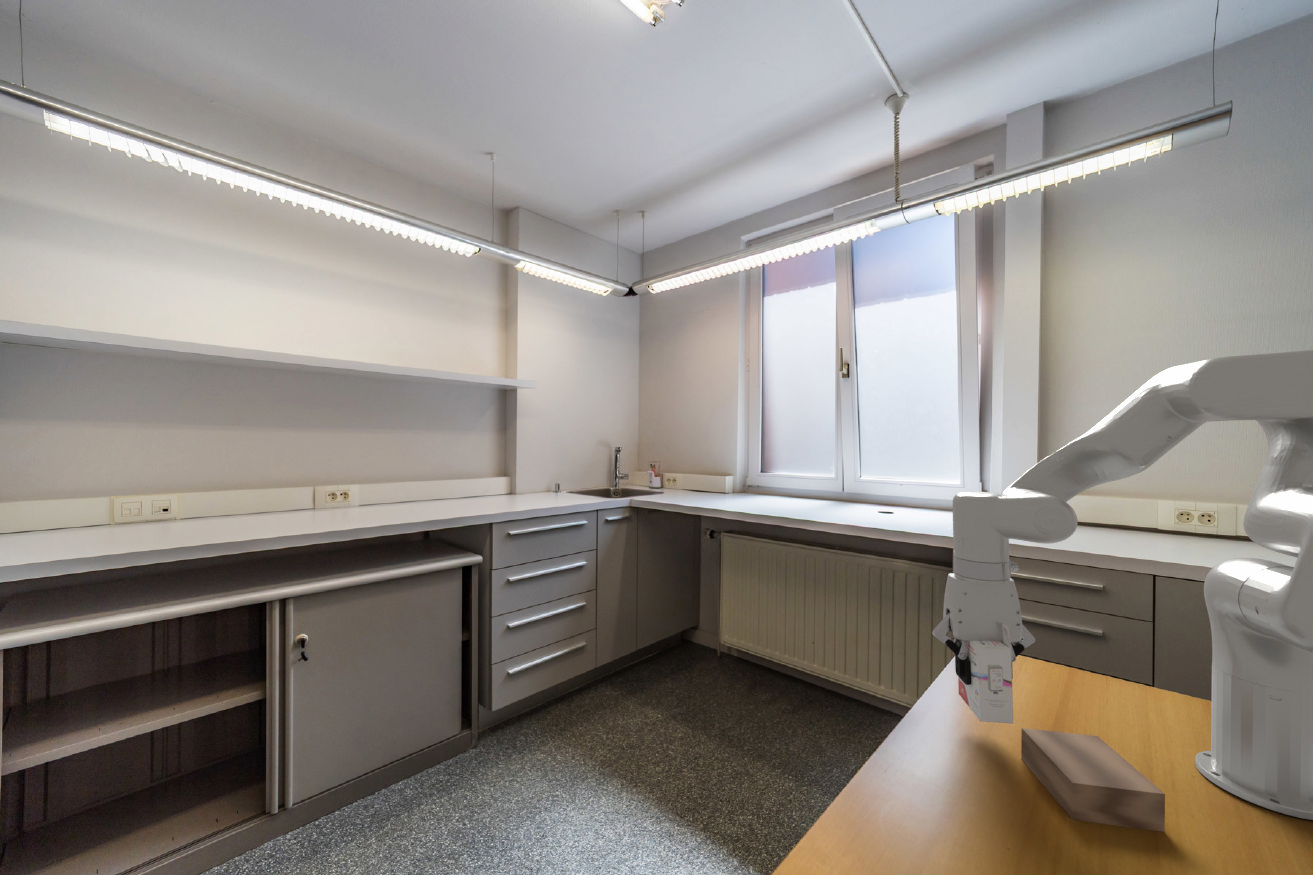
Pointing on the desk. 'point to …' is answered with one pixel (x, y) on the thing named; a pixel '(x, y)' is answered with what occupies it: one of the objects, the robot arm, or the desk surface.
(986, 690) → the ink cartridge box
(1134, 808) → the walnut block
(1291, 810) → the robot arm
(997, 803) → the desk surface
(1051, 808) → the desk surface
